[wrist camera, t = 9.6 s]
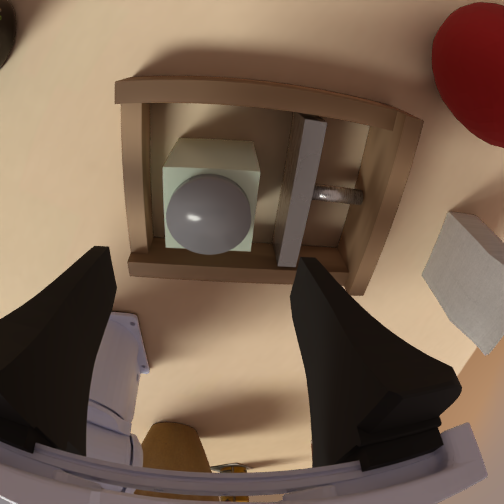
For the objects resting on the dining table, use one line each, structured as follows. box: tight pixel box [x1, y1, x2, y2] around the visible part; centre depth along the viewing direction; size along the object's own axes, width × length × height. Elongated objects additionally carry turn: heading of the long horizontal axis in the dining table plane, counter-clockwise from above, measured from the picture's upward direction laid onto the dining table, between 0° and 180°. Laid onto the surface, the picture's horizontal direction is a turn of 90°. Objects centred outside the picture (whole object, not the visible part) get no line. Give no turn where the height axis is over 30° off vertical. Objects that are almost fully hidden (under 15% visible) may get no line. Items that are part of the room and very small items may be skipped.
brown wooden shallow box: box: [115, 76, 424, 296], centre depth 18 cm, size 12×16×4 cm
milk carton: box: [422, 211, 504, 355], centre depth 20 cm, size 4×7×10 cm, turn 176°
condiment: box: [210, 463, 253, 502], centre depth 53 cm, size 7×8×12 cm
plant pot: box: [134, 422, 219, 501], centre depth 36 cm, size 15×15×16 cm
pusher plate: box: [272, 112, 363, 267], centre depth 19 cm, size 9×5×3 cm, turn 174°
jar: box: [163, 138, 260, 255], centre depth 17 cm, size 4×4×6 cm
